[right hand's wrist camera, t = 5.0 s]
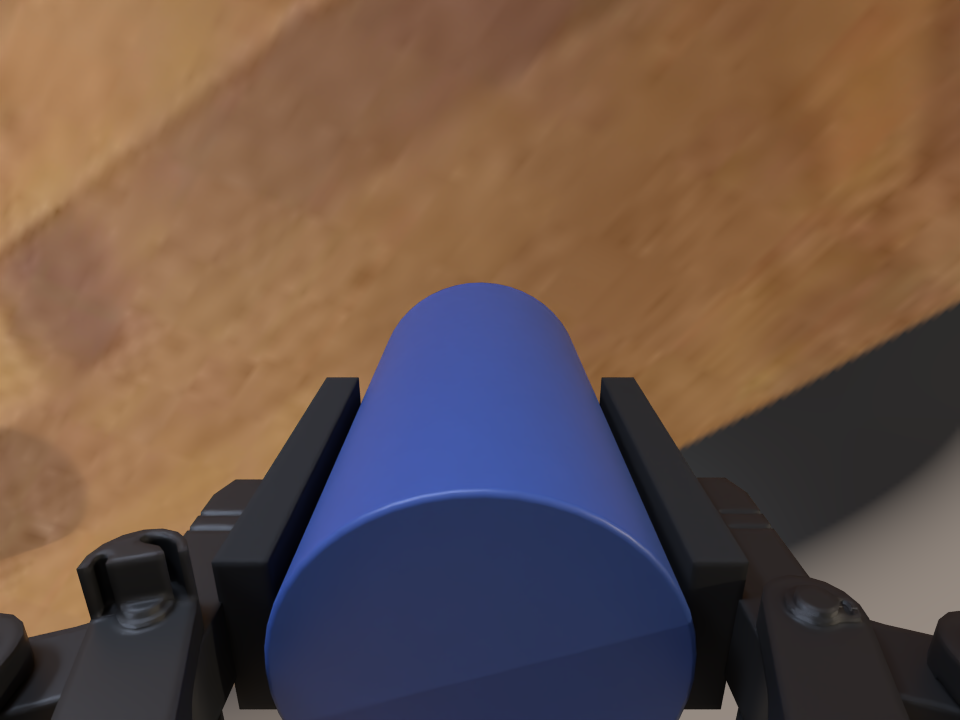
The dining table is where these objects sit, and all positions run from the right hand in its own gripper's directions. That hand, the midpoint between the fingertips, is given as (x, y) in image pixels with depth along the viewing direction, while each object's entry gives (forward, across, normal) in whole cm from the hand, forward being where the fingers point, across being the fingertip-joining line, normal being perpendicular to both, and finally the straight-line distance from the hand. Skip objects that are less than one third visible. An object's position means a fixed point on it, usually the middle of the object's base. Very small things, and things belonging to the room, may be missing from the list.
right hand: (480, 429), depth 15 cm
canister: (+3, 0, 0) cm, 3 cm away
